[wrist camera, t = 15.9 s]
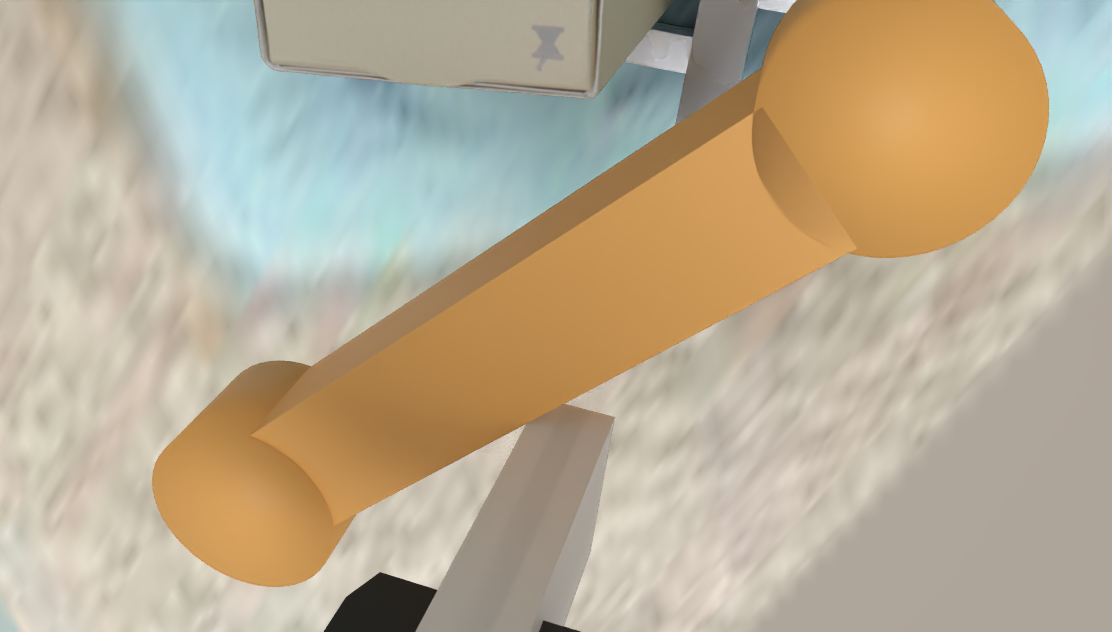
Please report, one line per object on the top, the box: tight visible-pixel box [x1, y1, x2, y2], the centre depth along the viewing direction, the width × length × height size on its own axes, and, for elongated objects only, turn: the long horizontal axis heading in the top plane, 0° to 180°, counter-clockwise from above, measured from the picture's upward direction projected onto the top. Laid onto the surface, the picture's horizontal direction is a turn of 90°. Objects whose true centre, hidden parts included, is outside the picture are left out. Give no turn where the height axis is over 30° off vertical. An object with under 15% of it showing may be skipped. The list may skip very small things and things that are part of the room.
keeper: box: [152, 0, 1049, 587], centre depth 14 cm, size 15×3×2 cm, turn 128°
